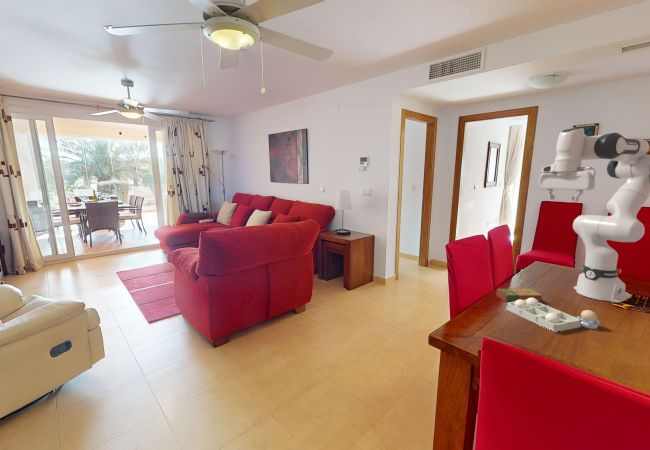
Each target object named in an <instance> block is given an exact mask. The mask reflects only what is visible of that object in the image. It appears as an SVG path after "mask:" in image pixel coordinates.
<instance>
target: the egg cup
mask: <svg viewBox="0 0 650 450" xmlns="http://www.w3.org/2000/svg"><path fill="white" fill-rule="evenodd" d="M576 318H578V319H581V327H582V328H585V329H589V330H590V329H591V330H597V329H599V325H600V320H599V319H596V320H595V321H594V322H591V321H588V322H586V321H584V320H583V319H582V318H581V316H578V315H577V316H576Z"/></svg>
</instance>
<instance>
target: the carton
mask: <svg viewBox="0 0 650 450" xmlns="http://www.w3.org/2000/svg"><path fill="white" fill-rule="evenodd" d="M495 296H496V297H498V299H500V300H502V301H504V303H506V304H507V303H509V302H515V301H516V300H519V299H521V300H527V299H528V298H535V299H537V300H538V302H540V303H542V294H541V293H539V292H537V291H535V290H534V289H532V288H497V289H496V294H495Z"/></svg>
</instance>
